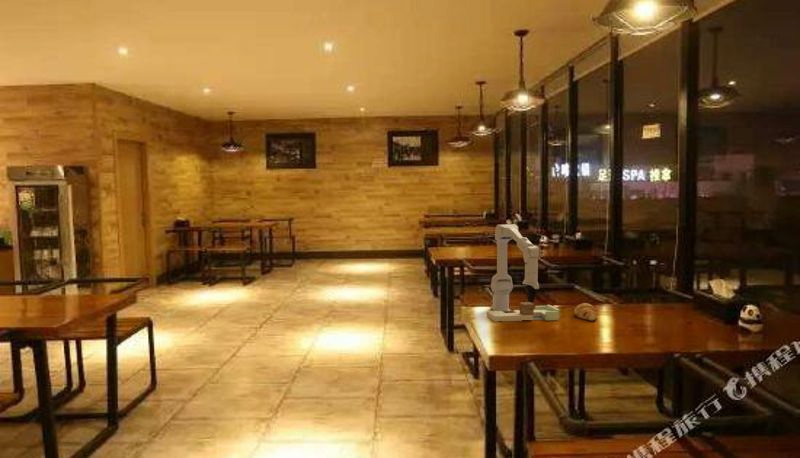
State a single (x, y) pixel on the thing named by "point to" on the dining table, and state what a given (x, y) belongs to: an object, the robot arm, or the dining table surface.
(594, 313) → the croissant
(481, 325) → the dining table surface
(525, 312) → the walnut block
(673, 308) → the dining table surface
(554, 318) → the board
